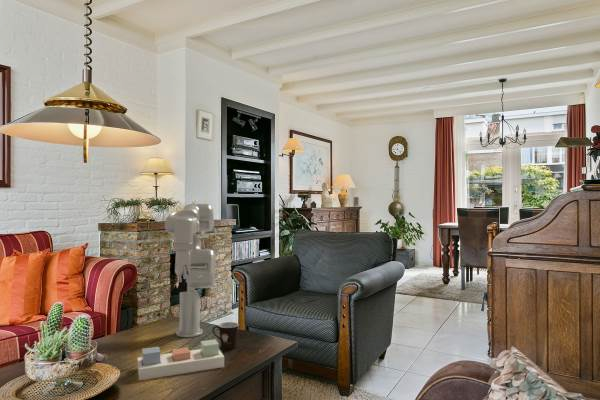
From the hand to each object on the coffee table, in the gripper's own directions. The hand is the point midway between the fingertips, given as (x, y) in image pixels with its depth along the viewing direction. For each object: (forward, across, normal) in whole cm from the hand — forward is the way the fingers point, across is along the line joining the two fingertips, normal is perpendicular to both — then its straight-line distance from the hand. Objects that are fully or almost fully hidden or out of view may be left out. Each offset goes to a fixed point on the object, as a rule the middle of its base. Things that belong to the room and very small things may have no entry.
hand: (182, 291), depth 170 cm
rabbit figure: (+28, -10, -36) cm, 46 cm away
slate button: (+24, +11, -13) cm, 29 cm away
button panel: (+27, +11, -2) cm, 29 cm away
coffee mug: (+27, -5, +20) cm, 34 cm away
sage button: (+24, +11, +9) cm, 28 cm away
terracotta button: (+26, +11, -2) cm, 28 cm away
